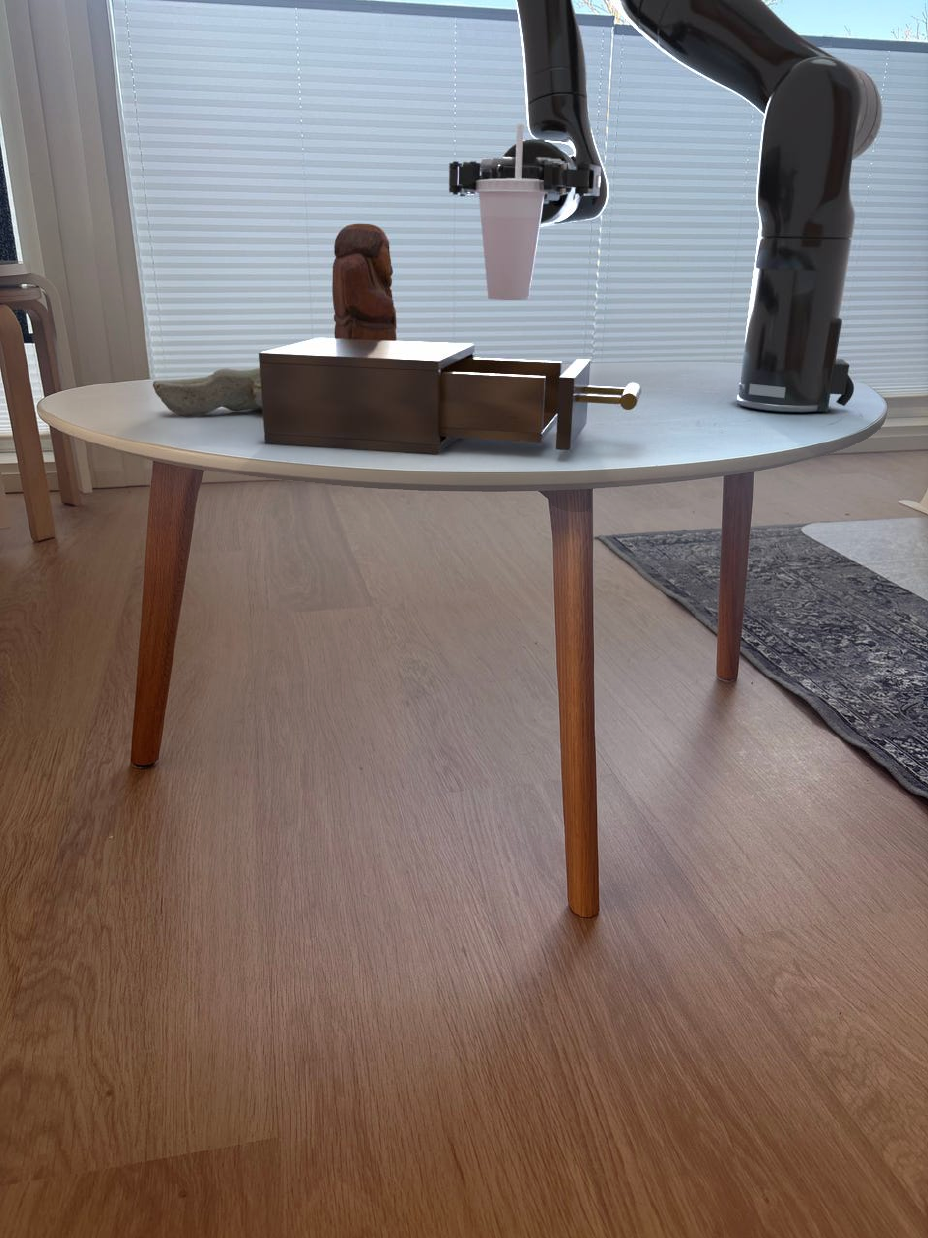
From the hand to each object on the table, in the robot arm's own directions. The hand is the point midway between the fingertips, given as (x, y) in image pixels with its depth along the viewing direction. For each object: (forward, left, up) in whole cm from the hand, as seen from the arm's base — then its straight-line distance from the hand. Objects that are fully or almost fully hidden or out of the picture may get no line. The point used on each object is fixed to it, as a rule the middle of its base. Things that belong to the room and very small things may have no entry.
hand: (507, 175), depth 78 cm
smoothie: (0, -2, -10) cm, 10 cm away
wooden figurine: (+18, -15, -22) cm, 32 cm away
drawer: (-3, +4, -21) cm, 21 cm away
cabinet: (+11, +4, -22) cm, 25 cm away
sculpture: (+28, -2, -22) cm, 36 cm away
